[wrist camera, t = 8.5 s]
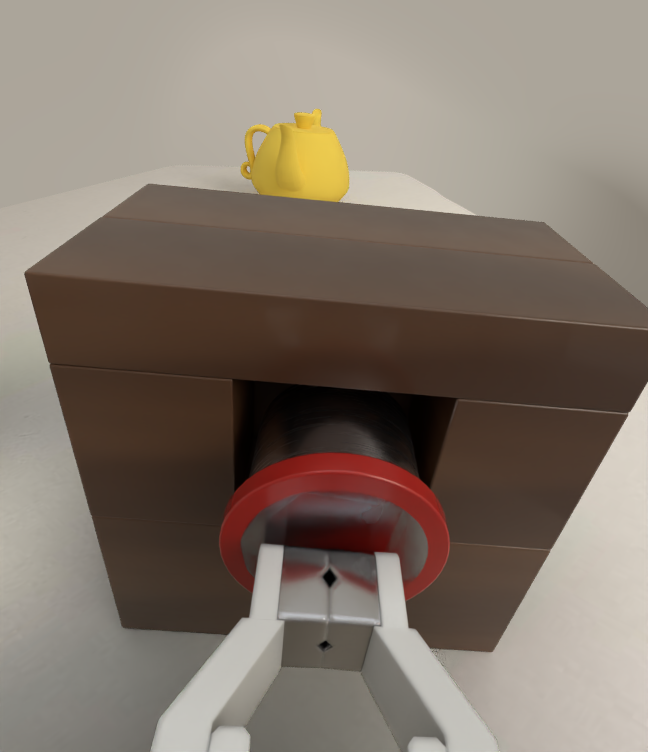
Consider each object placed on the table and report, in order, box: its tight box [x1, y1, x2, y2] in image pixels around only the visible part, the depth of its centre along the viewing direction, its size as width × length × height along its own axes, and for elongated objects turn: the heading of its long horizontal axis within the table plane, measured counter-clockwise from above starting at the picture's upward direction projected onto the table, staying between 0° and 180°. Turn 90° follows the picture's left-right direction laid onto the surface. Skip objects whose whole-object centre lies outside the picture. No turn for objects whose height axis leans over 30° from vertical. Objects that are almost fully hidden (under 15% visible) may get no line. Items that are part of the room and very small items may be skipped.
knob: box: [219, 384, 450, 601], centre depth 12 cm, size 4×5×5 cm
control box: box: [24, 184, 648, 652], centre depth 17 cm, size 8×14×14 cm, turn 89°
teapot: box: [241, 109, 349, 202], centre depth 63 cm, size 20×15×12 cm
